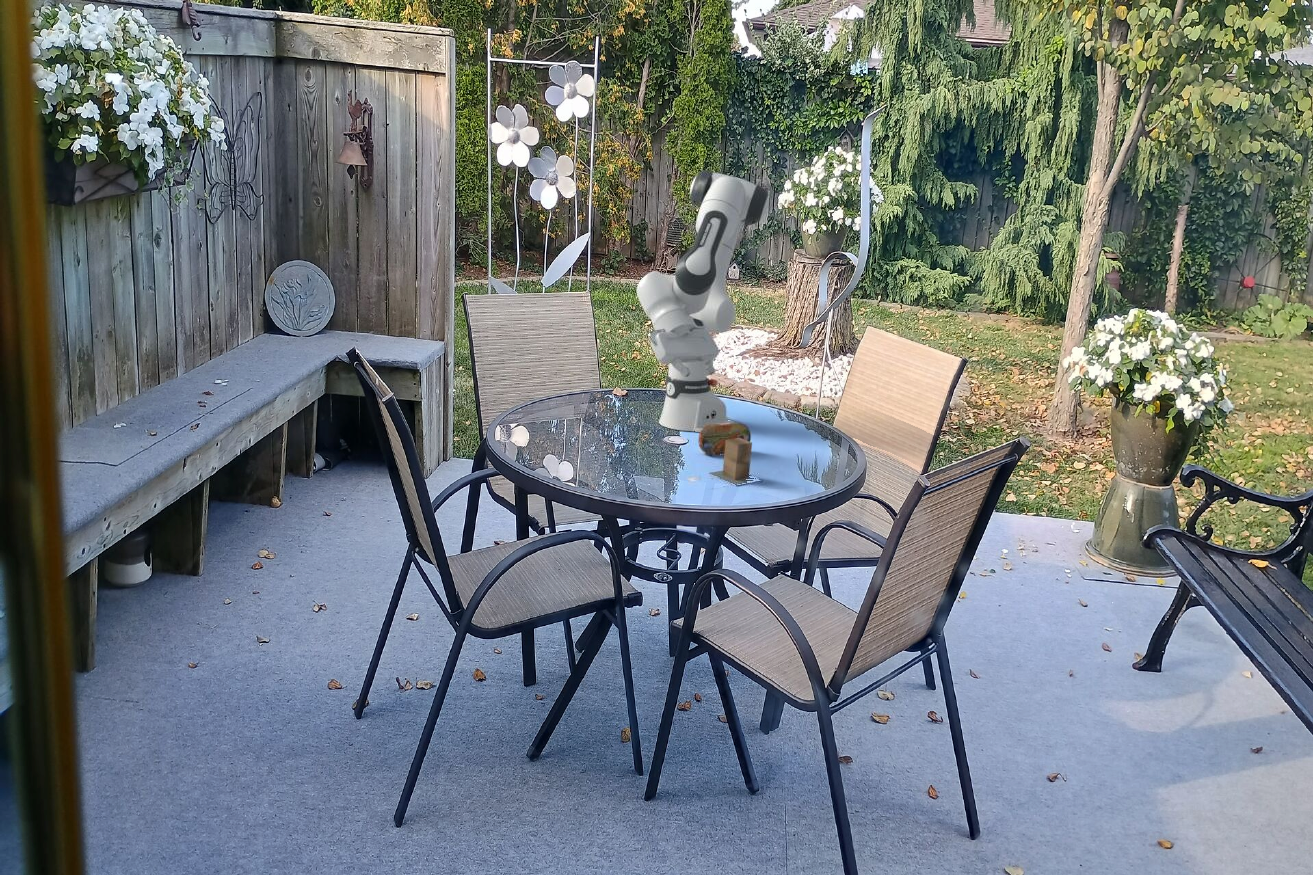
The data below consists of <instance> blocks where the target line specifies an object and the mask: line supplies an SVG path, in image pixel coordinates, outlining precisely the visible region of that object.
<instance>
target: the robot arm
mask: <svg viewBox="0 0 1313 875" xmlns="http://www.w3.org/2000/svg"><path fill="white" fill-rule="evenodd" d="M689 195H690V196H689V197H690V198H689V199H690V201H691V203H692V205H694V206H696V207H697V208H699V209H698V213H697V216H696V221H695V231H696V233H697V234H696V237H695V239H694V241H693V244H692V245H691V248H690V249H689V250H688V251H687V252H686V253H684V255H682V256H681V258H679V260H678V261H677V263H676V266H675V274H673V275H672V274H666V273H661V272H659V271H657V270H653V271H650V272H648V273H646V274H645V275H644V276H642V278H641V279H640V280H639V281H638V284H637V286H636V291H635V292H636V295H637V298H638V301H639V304H640V305H641V307H642V309H643V311H644V313H645V314H646V316H647V317H648V318H649V319H650V321H651V323H652V327H653V329H650V331H649V332H648V338H649V340H650V345H651V348H652V351H653V354H654V355H655V358H656V360H657V361H658V362H659V363H660V364H662V365H667V364H668V374H667V375H666V380H665V399H664V402H663V408H662V411H661V414H660V417H659V420H658V424H660V426H662V427H665V428H668V429H671V430H675V431H676V430H677V431H684V432H694V431H695V432H697V433H700V432H701V431H702V429H703V428H704V427H706V426H707V425H710V424H720V423H732V422H734V421H733V420H732V419H731V418H729V417H727V415H728V414H727V407H726V404H725V402H724V401H723V400H722V399H721V398H720V397H718V396H717V395H716V394H715V393H714V392H713V391H712V390H711V386H712V387H714V388H715V387H717V385H718V384H719V383H718V380H717V379H713V378H710V379H709V378H708V377H707V376H712V375H714V374H715V373H716V368H715V367H714V360H715V359H716V358H717V356H718V355H719V354H720V353H719V352H720V348H719V347H718V345H717V343H716V341H715V340H714V337H713V336H712V334H715V333H717V334H718V333H726V332H728V330H730V328H731V327H732V326H733V324H734V322H735V319H736V307H735V305H734V302H733V301H732V300H731V299H730V297H729V294H728V293H727V287H726V285H727V284H726V279H727V274H728V271H729V267H730V263H731V260H732V257H733V255H734V251H735V247H736V244H737V240H738V234H739V229H740V225H741V224H742V223H744V226H743V228H744V229H747V227H748V226H752V225H755V224H757V223H758V222H760V221H761V220H762V218H763V217H764V216H765V215H766V213H767V212H768V208H769V203H770V200H769V192H768V189H766V188H764V187H763V186H762V185H759V184H754V183H752V182H750V181H749V180H746V179H743V178H739V177H737V176H731V175H727V174H723V173H718V172H714V171H713V170H706V169H705V170H704V169H703V170H701V171H700V172H698V173H697V175H696V176H695V177H693V180H692V182H691V184H690V188H689ZM728 420H730V421H728ZM695 432H694V433H695Z"/></svg>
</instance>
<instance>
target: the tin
mask: <svg viewBox="0 0 1313 875" xmlns="http://www.w3.org/2000/svg"><path fill="white" fill-rule="evenodd" d="M751 436H752V435H751V431H750V429H749V427H748V425H747V426H746V424H743V423H740V422H735V421H733V422H732V423H720V424H710V425H707V426H706V427H704V428H703V429H702V431H701V432H699V435H698V446H699V449H700V450H701V451H702V452H703V453H705V454H706V455H708V456H710V455H717V456H723V455H722V454H724V453H725V443H726V440H729V439H736V438H741V439H744V440H746V441H749V442H751V438H752V437H751ZM720 454H721V455H720Z"/></svg>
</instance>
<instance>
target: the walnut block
mask: <svg viewBox="0 0 1313 875" xmlns="http://www.w3.org/2000/svg"><path fill="white" fill-rule="evenodd" d="M752 446H753V442H751V441H750V442H749V441H746V440H744V439H741V438H736V439H729V440H726V443H725V453H724V455H723V456H724V457H723V464H722V471H723V475H724V476H727V477H729V478H731V479H733V480H738V479H743V478H749V474H750V469H751V468H750V467H751V456H752V448H753V447H752Z"/></svg>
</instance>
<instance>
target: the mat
mask: <svg viewBox="0 0 1313 875" xmlns="http://www.w3.org/2000/svg"><path fill="white" fill-rule="evenodd" d="M709 474H712V475H714V476H717V477H719V478H720V479H719V478H718V479H719V480H721V479H723V480H725V481H728V482H730V483H733V484H735V485H737V484H742V483H747V481H753V480H746V479H754V478H750V477H749V478H743V479H738V480H733V479H731V478H729V477H727V476H724V475H723V470H718V471H713V472H709ZM709 474H708V475H709ZM712 475H711V476H712ZM714 476H713V477H714ZM749 476H753V475H751V474H750V475H749ZM755 479H756V478H755ZM723 480H722V481H723ZM725 481H724V482H725ZM728 482H727V483H728ZM730 483H729V484H730Z"/></svg>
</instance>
